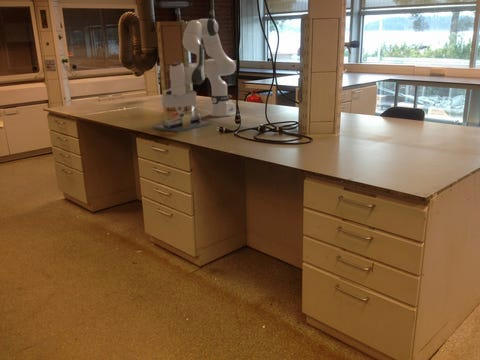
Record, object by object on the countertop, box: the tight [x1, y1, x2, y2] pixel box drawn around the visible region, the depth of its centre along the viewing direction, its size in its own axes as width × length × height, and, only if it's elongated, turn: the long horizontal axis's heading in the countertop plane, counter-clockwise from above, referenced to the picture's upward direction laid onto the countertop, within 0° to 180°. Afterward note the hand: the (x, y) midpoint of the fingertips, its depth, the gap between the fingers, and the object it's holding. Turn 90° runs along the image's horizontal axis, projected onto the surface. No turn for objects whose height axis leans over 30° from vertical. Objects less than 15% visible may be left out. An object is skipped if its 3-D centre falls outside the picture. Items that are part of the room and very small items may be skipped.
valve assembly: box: [152, 113, 213, 133], centre depth 282 cm, size 30×22×7 cm
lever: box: [171, 108, 186, 118], centre depth 274 cm, size 17×4×4 cm, turn 169°
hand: (180, 114), depth 268 cm, fingers closed
